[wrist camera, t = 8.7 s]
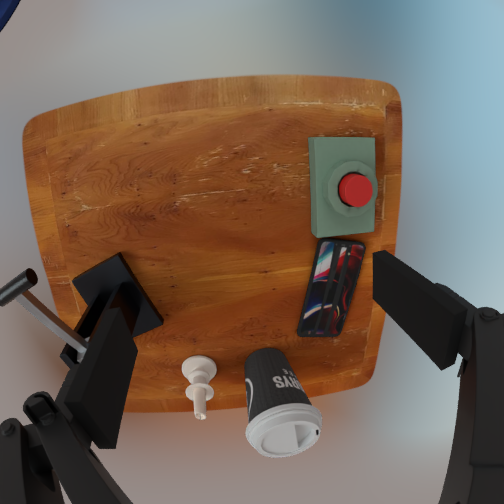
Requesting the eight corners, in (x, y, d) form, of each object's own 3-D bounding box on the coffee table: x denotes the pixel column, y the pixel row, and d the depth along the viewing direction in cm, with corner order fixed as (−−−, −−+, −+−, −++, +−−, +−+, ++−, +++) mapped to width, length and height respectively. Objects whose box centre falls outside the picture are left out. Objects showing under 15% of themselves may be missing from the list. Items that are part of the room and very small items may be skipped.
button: (338, 174, 33) (344, 175, 32) (365, 173, 34) (373, 174, 32) (338, 205, 35) (344, 208, 33) (365, 203, 35) (372, 206, 33)
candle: (182, 379, 44) (181, 431, 35) (181, 354, 43) (178, 406, 33) (215, 380, 45) (220, 431, 36) (217, 355, 44) (222, 407, 34)
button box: (308, 137, 35) (319, 137, 31) (366, 137, 36) (382, 138, 32) (311, 232, 39) (322, 242, 36) (366, 227, 40) (381, 235, 36)
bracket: (74, 277, 36) (30, 335, 24) (120, 251, 36) (84, 306, 24) (118, 340, 40) (96, 409, 28) (164, 319, 40) (152, 391, 28)
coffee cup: (286, 386, 48) (312, 458, 34) (229, 384, 46) (241, 462, 32) (303, 341, 45) (338, 413, 31) (240, 337, 43) (257, 417, 29)
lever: (-2, 284, 20) (-9, 303, 19) (29, 260, 20) (22, 280, 19) (86, 358, 29) (86, 376, 27) (120, 344, 29) (120, 363, 27)
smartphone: (296, 337, 44) (320, 238, 39) (295, 334, 44) (318, 236, 39) (340, 336, 45) (368, 243, 40) (338, 334, 46) (365, 242, 41)
